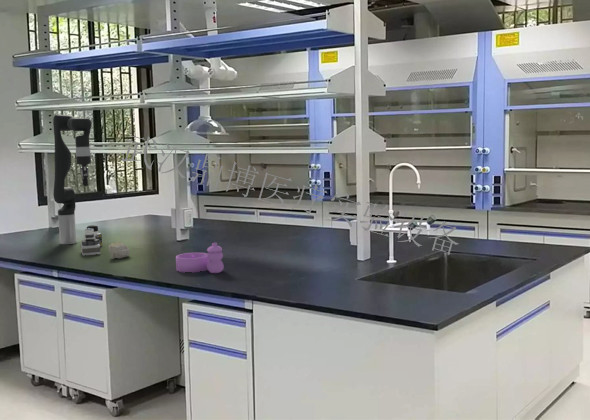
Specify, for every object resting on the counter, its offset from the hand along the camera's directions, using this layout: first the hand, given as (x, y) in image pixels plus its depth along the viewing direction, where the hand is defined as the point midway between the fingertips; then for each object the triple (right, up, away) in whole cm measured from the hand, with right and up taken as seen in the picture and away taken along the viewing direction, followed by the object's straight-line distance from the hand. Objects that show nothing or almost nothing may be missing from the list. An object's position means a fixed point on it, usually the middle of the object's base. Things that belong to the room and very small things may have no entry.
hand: (85, 185), depth 349 cm
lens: (+3, -32, -3) cm, 32 cm away
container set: (+70, -41, -54) cm, 98 cm away
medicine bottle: (-2, -34, +19) cm, 39 cm away
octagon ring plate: (+4, -37, -2) cm, 37 cm away
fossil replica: (+24, -38, -18) cm, 48 cm away
